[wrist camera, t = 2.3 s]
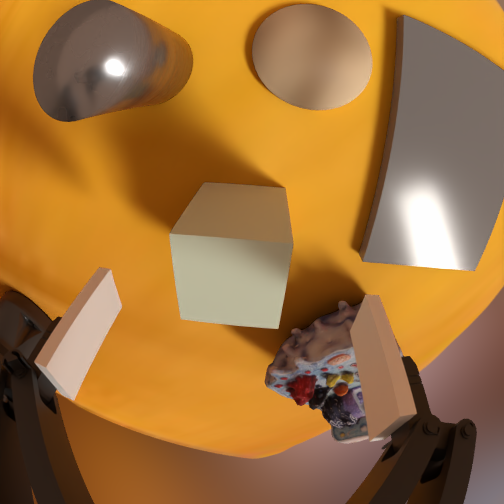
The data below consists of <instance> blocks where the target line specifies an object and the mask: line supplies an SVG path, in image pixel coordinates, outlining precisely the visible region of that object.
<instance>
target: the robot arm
mask: <svg viewBox="0 0 504 504" xmlns="http://www.w3.org/2000/svg"><path fill="white" fill-rule="evenodd" d="M121 308H122V305H121V302H120V299H119V296H118V292H117V289H116V286H115V283H114V279H113V276H112V272H111V269H107V268H100V267H99V269H98V270H97V271H96V272H95V274H94V275H93V276H92V277H91V279H90V280H89V281H88V283H87V284H86V285H85V287H84V288H83V289H82V291H81V292H80V293H79V295H78V296H77V297H76V299H75V300H74V302H73V303H72V304H71V306H70V307H69V309H68V310H67V311H66V313H65V314H64V316H63V317H57V318H56V319H55V320H54V321H51V320H50V319H49V318H48V317H47V316H46V315H45V314H44V313H43V312H42V311H41V310H40V309H39V308H38V307H37V306H36V305H35V304H34V303H33V302H31V301H30V300H29V299H27V298H26V297H24V296H23V295H21V294H19V293H17V292H14V291H7V292H6V293H5V294H4V295H3V296H2V298H1V299H0V504H34V501H33V495H32V489H33V492H34V495H35V498H36V500H37V503H38V504H94V502H93V500H92V498H91V496H90V494H89V492H88V490H87V487H86V485H85V483H84V480H83V478H82V476H81V473H80V471H79V468H78V466H77V463H76V460H75V458H74V455H73V452H72V449H71V446H70V443H69V440H68V437H67V434H66V430H65V427H64V423H63V420H62V416H61V412H60V408H59V404H58V399H57V396H56V394H55V392H56V390H58V391H59V392H60V393H61V394H62V395H63V396H65V397H67V398H69V399H72V400H74V399H75V397H76V395H77V393H78V391H79V388H80V386H81V384H82V382H83V380H84V378H85V376H86V374H87V372H88V370H89V367H90V365H91V363H92V361H93V360H94V358H95V356H96V354H97V352H98V350H99V348H100V346H101V344H102V342H103V340H104V338H105V337H106V335H107V333H108V331H109V329H110V327H111V326H112V324H113V322H114V320H115V318H116V317H117V315H118V313H119V311H120V310H121ZM350 334H351V339H352V343H353V348H354V353H355V358H356V363H357V368H358V373H359V378H360V384H361V389H362V395H363V401H364V407H365V414H366V421H367V428H368V435H369V441H377V440H383V439H386V438H387V437H388V436H390V435H391V438H392V440H391V441H390V442H388V443H387V444H386V445H384V447H382V449H385V448H386V449H385V451H384V452H383V454H382V456H381V457H380V458H379V460H378V461H377V463H376V464H375V466H374V467H373V469H372V470H371V472H370V473H369V474H368V476H367V477H366V478H365V480H364V481H363V483H362V484H361V485H360V486H359V488H358V489H357V490H356V492H355V493H354V494H353V495H352V497H351V498H350V499H349V500H348V501H347V503H346V504H405V503H406V502H407V500H408V502H407V504H463V503H464V499H465V495H466V492H467V488H468V483H469V478H470V474H471V469H472V463H473V457H474V450H475V442H476V433H477V432H476V427H475V424H474V423H473V422H472V421H471V420H469V419H463V420H461V421H459V422H458V423H457V424H452V423H444V422H441V421H440V420H439V418H437V417H436V416H435V415H432V414H431V411H430V408H429V405H428V401H427V397H426V394H425V391H424V387H423V384H422V381H421V378H420V376H419V371H418V368H417V365H416V364H415V362H414V361H413V360H412V358H411V357H410V356H406V357H401V355H400V352H399V349H398V346H397V343H396V340H395V337H394V334H393V332H392V329H391V326H390V323H389V321H388V318H387V315H386V312H385V310H384V307H383V305H382V302H381V300H380V297H379V295H365V297H364V299H363V302H362V304H361V307H360V309H359V311H358V314H357V316H356V318H355V321H354V323H353V325H352V328H351V330H350ZM31 486H32V489H31ZM408 498H409V499H408Z"/></svg>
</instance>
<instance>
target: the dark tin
mask: <svg viewBox="0 0 504 504" xmlns="http://www.w3.org/2000/svg"><path fill="white" fill-rule="evenodd" d="M192 67H193V55H192V51H191V48H190V46H189V44H188V43H187V42H186V40H185V39H184V38H183V37H181V36H180V35H178V34H176V33H175V32H173V31H171V30H169V29H168V28H166V27H164V26H162V25H160V24H159V23H157V22H155V21H153V20H151V19H149V18H147V17H145V16H143V15H141V14H139V13H137V12H135V11H133V10H131V9H129V8H126V7H124V6H122V5H120V4H117V3H115V2H112V1H109V0H91V1H87V2H84V3H81V4H79V5H77V6H75V7H73V8H72V9H70V10H69V11H67V12H66V13H65V14H64V15H62V16H61V17H60V18H59V19H58V20H57V21H56V22H55V24H54V25H53V26H52V27H51V29H50V30H49V31H48V33H47V34H46V36H45V38H44V39H43V41H42V43H41V45H40V48H39V50H38V53H37V56H36V60H35V65H34V72H33V84H34V91H35V95H36V98H37V100H38V102H39V104H40V106H41V108H42V109H43V110H44V111H45V112H46V113H47V114H48V115H49V116H51V117H52V118H54V119H56V120H59V121H64V122H71V121H77V120H81V119H85V118H88V117H92V116H97V115H101V114H105V113H110V112H115V111H120V110H125V109H131V108H136V107H142V106H149V105H156V104H160V103H163V102H165V101H167V100H169V99H171V98H172V97H174V96H175V95H176V94H178V93H179V92H180V91H181V90H182V88H183V87H184V86H185V84H186V83H187V81H188V79H189V77H190V75H191V72H192Z"/></svg>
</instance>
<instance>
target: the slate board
mask: <svg viewBox="0 0 504 504" xmlns="http://www.w3.org/2000/svg"><path fill="white" fill-rule="evenodd" d="M503 199H504V70H502V69H501V68H500V67H498V66H497V65H495V64H494V63H493V62H491V61H490V60H488V59H487V58H485V57H484V56H482V55H481V54H479V53H478V52H476V51H475V50H473V49H471V48H470V47H468V46H466V45H465V44H463V43H461V42H460V41H458V40H456V39H454V38H453V37H451V36H449V35H447V34H445V33H443V32H441V31H439V30H437V29H435V28H433V27H431V26H429V25H427V24H424V23H422V22H420V21H418V20H415V19H413V18H411V17H408V16H406V15H402V16H400V17H398V18H397V39H396V60H395V73H394V84H393V94H392V102H391V110H390V117H389V124H388V130H387V137H386V142H385V148H384V153H383V159H382V164H381V169H380V174H379V178H378V183H377V187H376V192H375V196H374V200H373V204H372V208H371V212H370V216H369V220H368V224H367V227H366V231H365V235H364V238H363V242H362V245H361V248H360V252H359V255H360V257H361V259H362V261H363V262H373V263H385V264H397V265H409V266H421V267H433V268H445V269H457V270H469V271H475V269H476V267H477V265H478V263H479V261H480V259H481V256H482V254H483V252H484V250H485V247H486V245H487V243H488V240H489V238H490V235H491V233H492V230H493V228H494V225H495V222H496V220H497V217H498V214H499V211H500V208H501V205H502V202H503Z"/></svg>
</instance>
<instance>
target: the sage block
mask: <svg viewBox="0 0 504 504" xmlns="http://www.w3.org/2000/svg"><path fill="white" fill-rule="evenodd" d="M169 235H170V244H171V253H172V262H173V269H174V277H175V284H176V291H177V298H178V304H179V310H180V316H181V319H184V320H192V321H200V322H208V323H217V324H226V325H237V326H247V327H259V328H273V329H278V328H279V322H280V317H281V312H282V307H283V301H284V296H285V290H286V285H287V279H288V273H289V267H290V261H291V255H292V249H293V237H292V230H291V223H290V216H289V209H288V202H287V195H286V189H285V188H280V187H269V186H257V185H244V184H229V183H210V182H204V183H203V185H202V186H201V187H200V189H199V190H198V192H197V193H196V195H195V196H194V197H193V199H192V200H191V202H190V203H189V205H188V206H187V208H186V209H185V211H184V212H183V214H182V215H181V217H180V218H179V220H178V221H177V223H176V224H175V226H174V227H173V229H172V230H171V232H170V233H169Z"/></svg>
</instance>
